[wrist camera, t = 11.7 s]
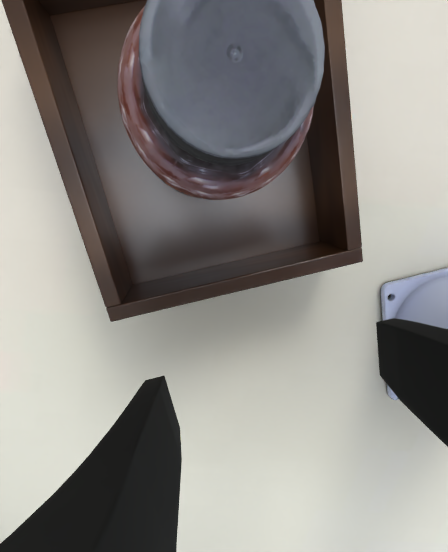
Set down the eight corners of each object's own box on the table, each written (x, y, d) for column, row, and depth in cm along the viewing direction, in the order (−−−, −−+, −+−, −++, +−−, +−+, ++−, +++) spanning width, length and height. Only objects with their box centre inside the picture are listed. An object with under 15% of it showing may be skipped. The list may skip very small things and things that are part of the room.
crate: (329, 249, 20) (363, 261, 16) (125, 297, 19) (110, 322, 15) (296, -40, 16) (332, -115, 12) (32, 5, 15) (-20, -60, 11)
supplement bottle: (132, 171, 17) (39, 129, 6) (170, 61, 16) (140, -228, 5) (229, 214, 18) (294, 241, 7) (271, 114, 17) (421, -26, 6)
